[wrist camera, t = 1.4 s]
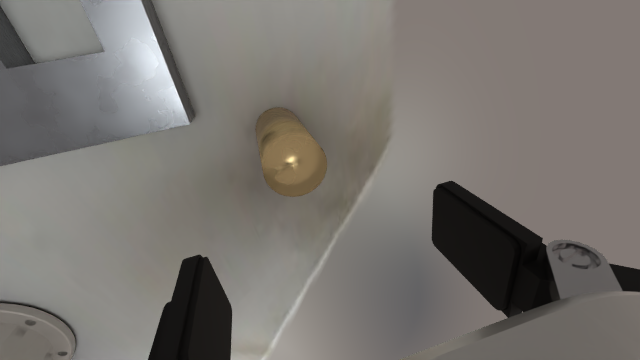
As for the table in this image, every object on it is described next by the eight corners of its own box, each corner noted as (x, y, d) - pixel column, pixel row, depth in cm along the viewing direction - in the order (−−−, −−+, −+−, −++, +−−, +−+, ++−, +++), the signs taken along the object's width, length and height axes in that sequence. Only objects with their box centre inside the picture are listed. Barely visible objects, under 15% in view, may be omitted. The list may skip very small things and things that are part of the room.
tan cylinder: (303, 145, 29) (331, 187, 20) (262, 155, 28) (271, 203, 19) (295, 103, 27) (321, 129, 18) (250, 113, 26) (255, 145, 17)
